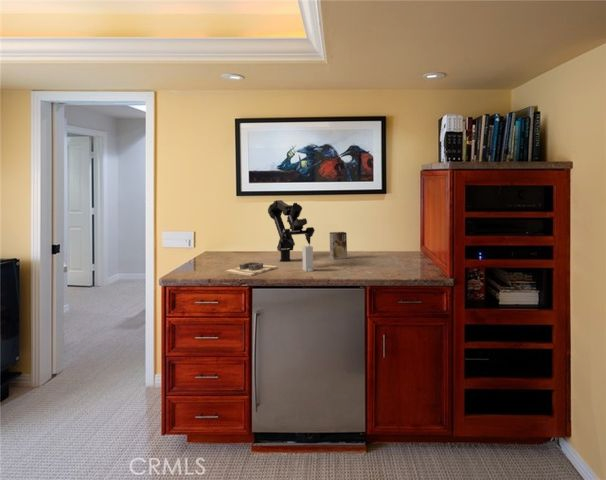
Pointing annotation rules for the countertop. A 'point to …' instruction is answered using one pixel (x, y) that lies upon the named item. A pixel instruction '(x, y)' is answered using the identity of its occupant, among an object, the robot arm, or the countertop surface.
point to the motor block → (307, 258)
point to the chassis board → (251, 269)
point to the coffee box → (338, 245)
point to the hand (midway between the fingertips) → (302, 244)
